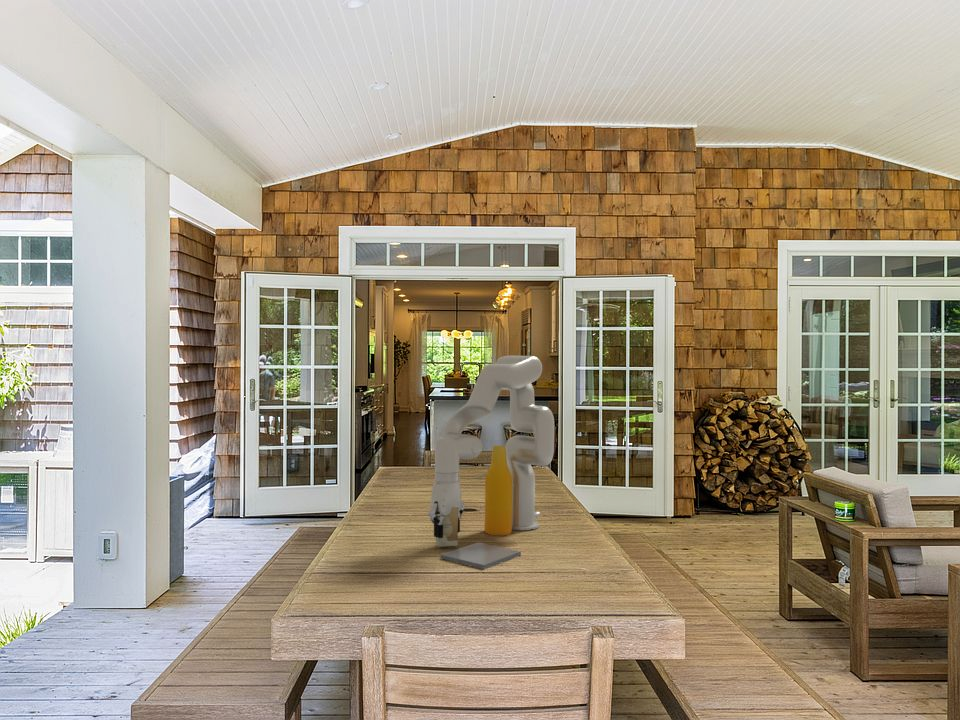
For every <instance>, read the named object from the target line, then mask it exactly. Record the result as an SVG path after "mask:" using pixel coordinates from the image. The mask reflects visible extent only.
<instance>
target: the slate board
mask: <svg viewBox="0 0 960 720" xmlns="http://www.w3.org/2000/svg"><path fill="white" fill-rule="evenodd" d="M519 555H522V553H521V550H515V549H510V548H507V547H501V546H496V545H492V544H488V543H483V542H476V543H472V544H469V545H465V546H462V547H460V548H456V549H453V550H451V551H447V552H445V553H441V554H440V556H439V557H440V558H442V559H441V560H443V559H446V560H445V561H448V560H450V561H449V562H452V561H454V562H453V563H456V562H458V563H457V564H460V563H462V564H461V565H464V564H466V565H465V566H468V565H471V566H470V567H472V566H474V567H473V568H476V567H478V569H481V568H482V570H486V569H488V567H489V568H492V567H494V566H496V564H497V565H500V564H502V563H505V562H508V561H510V560H513V559H515V558H514V557H516V558H518V557H520V556H519ZM517 556H518V557H517ZM512 558H513V559H512ZM509 559H510V560H509ZM507 560H508V561H507ZM504 561H505V562H504ZM501 562H502V563H501ZM499 563H500V564H499ZM493 565H494V566H493ZM491 566H492V567H491ZM485 568H486V569H485Z"/></svg>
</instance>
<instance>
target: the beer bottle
mask: <svg viewBox="0 0 960 720" xmlns="http://www.w3.org/2000/svg"><path fill="white" fill-rule="evenodd" d="M505 446H506V445H493V446H492V452H491V462H490V465H489V467H488V469H487V472H486V475H485V479H484V525H483V526H484V533H486V534H487V533H488V534H487V535H489V534H491V535H490V536H495V535H503V536H509V535H510V534H511V533H512V531H513V530H512V475H511V472H510V470H509V468H508V465H507V458H506V448H505Z"/></svg>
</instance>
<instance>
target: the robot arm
mask: <svg viewBox="0 0 960 720" xmlns="http://www.w3.org/2000/svg"><path fill="white" fill-rule="evenodd" d="M542 372H543V364H542V362H541V360H540V359H539V358H538V357H537V356H533V355H504V356H501V357H498V359H497V360H496V361H495V363H490V364H486V365H484V366H483V368H482V369H481V371H480V373H479V375H478V377H477V380H476V382H475V384H474V387H473V389H472V392H471V394H470V396H469V398H468V401H467V402H466V403H465V404H464V405H462V406H461V407H460V408H459V409H458V410H457V411H456V412H454V413H453V414H452V415H451V417H450V418H449V419H448V420H447V422H446V424H445V426H444V429H443V430H442V433H441V435H440V437H437V438H436V439H435V441H434V482H433V484H432V489H431V494H430V495H431V496H430V510H429V511H428V512H427V515H428V517H429V519H430V521H431V522H432V523H431V524H433V537H434V538H436V537H438V538H443V525H441V524H442V521H443V518H444V516H447V515H449V514H450V513H451V509H452V507H454V506H458V534H459V533H460V532H461V519H462V515H463V514H464V513H463V512H464V509H465V507H466V504H465V502H463V501H462V500H463V499H462V487H461V481H460V460H473V459H475V458H477V457H478V456H479V455H480V454H481V453H482V450H483V443H482V441H481V439H480V438H479V437H478V436H475V435H472V434H465V433H462V432H463V431H464V430H465V429H466V428H467V426H469V425H471V424H472V423H473V422H474V423H475V421H478V420H480V419H482V418H485V417H488V416H489V415H491V414H492V412H493V410H494V408H495V406H496V403H497V400H498V398H499V396H500V394H501V391H502V390H503V391H504V390H505V391H509V421H510V422H509V423H510V427H511V428H512V429H513V430H514V431H516V432H520V433H528V434H530V433H531V434H534V436H529V435H528V436H527V435H513V436H512V437H510V438H508V439H507V440H506V443H505V445H504V446H505V448H506V458H507V465H508V468H509V470H510V472H511V475H512V531H532V530H531V529H533V530H537V529H539V527H540V525H539V524H540V523H539V522H538V521H536V518H537V519H538V518H539V517H541V512H540V511H535V508H536V507H535V503H536V501H535V500H536V497H535V496H536V495H535V494H536V493H535V491H536V476H535V471H534V469H533V466H538V467H539V466H542V467H546V466H548V465H549V464H550V463H551V462H552V460H553V457H554V453H555V418H554V414H553V412H552V410H551V409H550V408H548V407H547V406H545V405H544V406H543V405H536V404H535V389H534V387H533V384H532V383H534V382H535V381H537V380H538V379H539V378H540V377H541V375H542ZM532 465H533V466H532ZM438 512H440V514H438ZM438 517H440V518H439V520H438Z"/></svg>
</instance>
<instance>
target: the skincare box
mask: <svg viewBox="0 0 960 720" xmlns="http://www.w3.org/2000/svg"><path fill="white" fill-rule="evenodd" d="M438 514H440V512H438ZM439 518H440V517H438V520H439ZM441 525H443V538H438V537H435V544H436V546H437V547H441V548H442V547H457V546H458V545H459V544H458V543H459V542H458V540H459V539H458V538H459V537H458V535H459V533H458V506H454V507H452V509H451V513H450V514H449V515H447V516H444V518H443V521H442V524H441Z"/></svg>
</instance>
